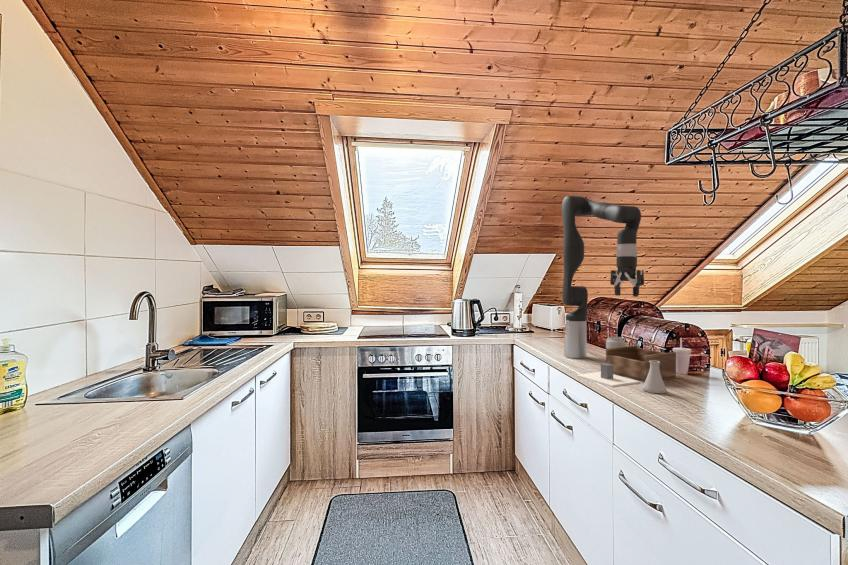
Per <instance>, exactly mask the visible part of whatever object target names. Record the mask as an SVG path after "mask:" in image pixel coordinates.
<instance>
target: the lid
mask: <svg viewBox="0 0 848 565" xmlns="http://www.w3.org/2000/svg"><path fill="white" fill-rule="evenodd" d="M576 377H577V378H580V379H583V380H587V381H590V382H593V383H596V384H597V383H598V384H600V385H603V386H607V387H611V388H615V387H622V386H630V385H636V384H640V382H641V381H638V380H634V379H630V378H626V377H622V376H618V375H615V374H613V365H612V364H607V363H606V362H605V363H601V364H600V371H596V372H595V371H594V372H587V373H581V374H576Z"/></svg>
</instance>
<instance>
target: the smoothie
mask: <svg viewBox="0 0 848 565" xmlns="http://www.w3.org/2000/svg"><path fill="white" fill-rule="evenodd" d="M679 340H680V342H679V346H680V347H673V348H672V351H673V352H675V353H676V375H677V374H678V375H684V376H685V375H686V376H687V375H688V373H689V366H690V358H691V353H692V349H691V348H687V347H683V337H680V339H679Z"/></svg>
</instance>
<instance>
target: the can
mask: <svg viewBox="0 0 848 565" xmlns="http://www.w3.org/2000/svg"><path fill="white" fill-rule="evenodd" d="M625 346H626V341H625V340H624V337H622V336H607V339H606V340H605V349H606V348H615V347H625Z"/></svg>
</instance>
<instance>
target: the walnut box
mask: <svg viewBox="0 0 848 565" xmlns="http://www.w3.org/2000/svg"><path fill="white" fill-rule="evenodd" d="M651 360H654V361H660V364H659V369H660V374H661V377H662V380H663V381H666V380H672V378H673V379H676V378H677V373H676V353H675V352H674V351H673V352H672V351H671V352H663V351H656V350H651V349H646V348H640V347H638V345H625V347H615V348H606V347H605V364H606V363H607V364H612V365H613V374H614V375H618V376H622V377H625V378H629V379H633V380H637V381H640V382H642V383H645V381H646V378H647V376H648V373H649V369H650V362H649V361H651ZM665 379H666V380H665Z"/></svg>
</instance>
